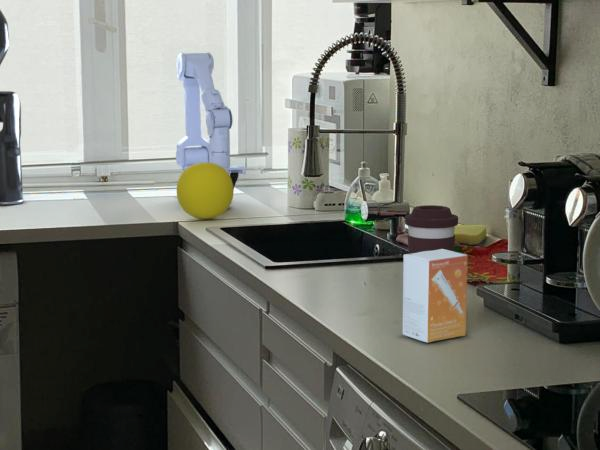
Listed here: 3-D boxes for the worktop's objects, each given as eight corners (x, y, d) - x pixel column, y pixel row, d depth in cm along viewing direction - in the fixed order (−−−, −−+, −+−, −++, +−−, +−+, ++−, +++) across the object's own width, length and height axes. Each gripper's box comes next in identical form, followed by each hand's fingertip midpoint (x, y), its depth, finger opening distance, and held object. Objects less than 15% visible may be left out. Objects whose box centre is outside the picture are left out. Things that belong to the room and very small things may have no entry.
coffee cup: (400, 280, 202) (400, 204, 200) (450, 279, 203) (451, 203, 201) (409, 292, 193) (410, 212, 190) (462, 291, 193) (463, 211, 191)
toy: (224, 212, 289) (223, 158, 287) (240, 220, 275) (239, 164, 273) (171, 216, 284) (169, 161, 282) (185, 224, 270) (183, 166, 268)
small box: (427, 344, 159) (428, 260, 157) (401, 334, 164) (401, 253, 162) (467, 335, 164) (468, 254, 161) (440, 327, 169) (441, 247, 167)
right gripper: (193, 153, 291) (194, 201, 294) (245, 152, 292) (246, 200, 294) (194, 151, 298) (195, 198, 301) (245, 150, 299) (246, 197, 301)
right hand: (220, 199), depth 298 cm, fingers open, 5 cm apart
